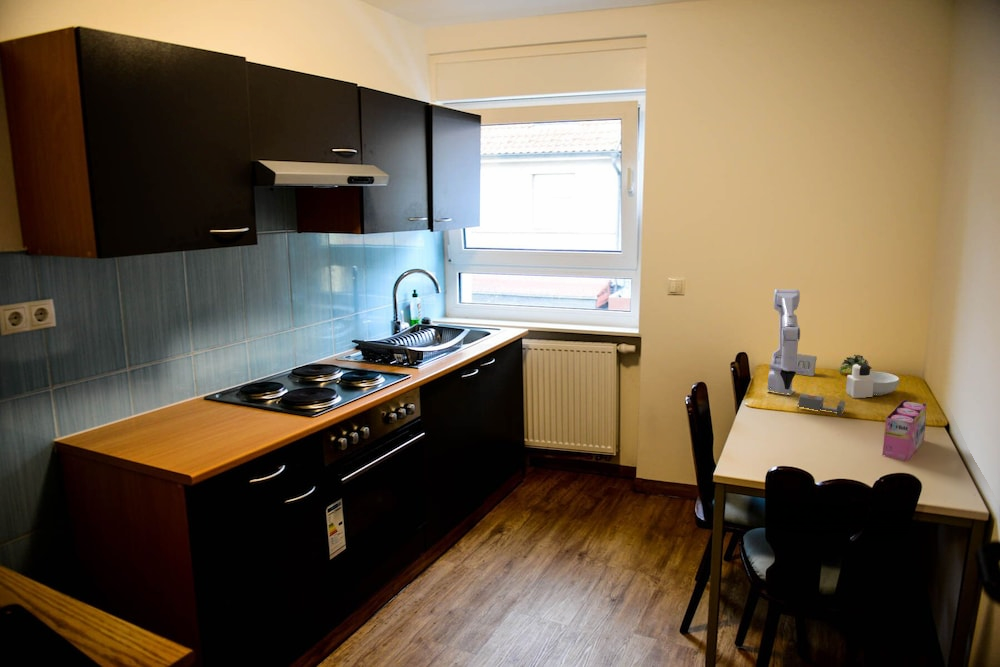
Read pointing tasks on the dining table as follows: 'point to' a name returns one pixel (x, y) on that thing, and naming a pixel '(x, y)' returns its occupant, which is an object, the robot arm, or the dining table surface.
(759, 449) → the dining table surface
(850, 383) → the container
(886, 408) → the dining table surface
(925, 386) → the dining table surface
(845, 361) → the potted plant
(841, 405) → the rail
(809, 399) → the block
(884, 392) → the cereal bowl
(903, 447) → the gum box
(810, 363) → the electrical switch
